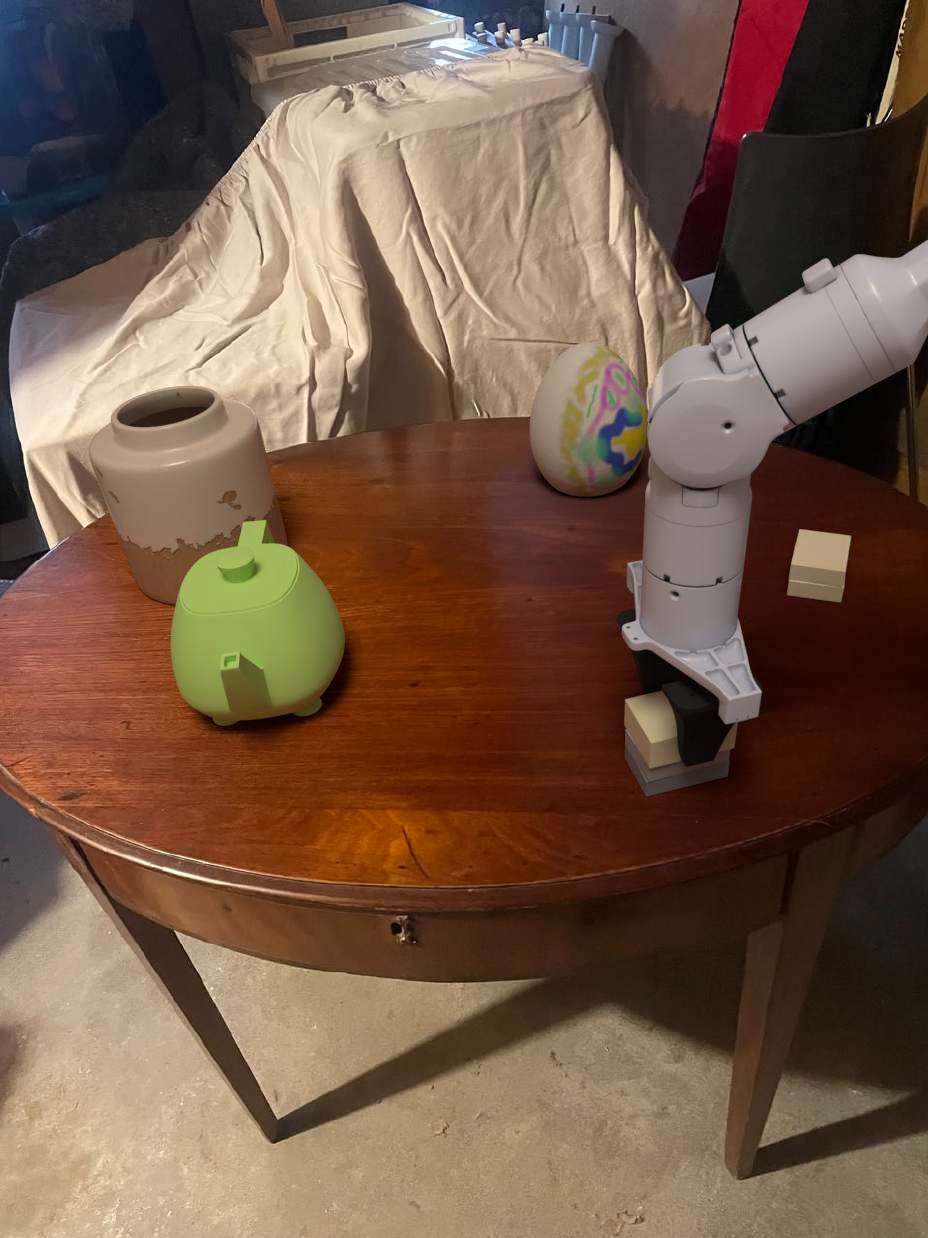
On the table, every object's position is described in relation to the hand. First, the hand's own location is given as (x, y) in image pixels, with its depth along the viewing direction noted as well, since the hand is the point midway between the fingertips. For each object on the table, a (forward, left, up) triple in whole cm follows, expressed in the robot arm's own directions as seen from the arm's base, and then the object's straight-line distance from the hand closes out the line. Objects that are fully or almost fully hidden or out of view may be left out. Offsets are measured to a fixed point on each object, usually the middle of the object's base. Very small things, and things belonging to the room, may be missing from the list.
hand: (678, 729), depth 59 cm
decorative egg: (+17, -40, -4) cm, 43 cm away
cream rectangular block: (0, 0, -1) cm, 1 cm away
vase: (+49, -15, -4) cm, 51 cm away
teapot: (+33, 0, -4) cm, 33 cm away
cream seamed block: (-8, -26, -4) cm, 27 cm away
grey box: (0, 0, -4) cm, 4 cm away
